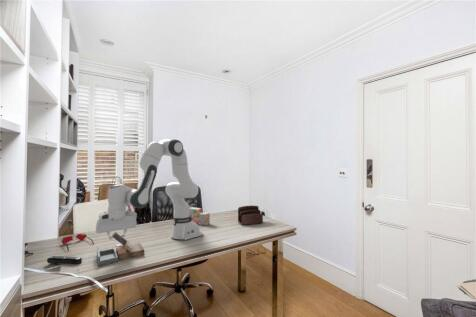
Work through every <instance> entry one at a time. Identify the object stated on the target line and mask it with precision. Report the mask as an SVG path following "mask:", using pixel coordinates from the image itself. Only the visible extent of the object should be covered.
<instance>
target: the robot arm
mask: <svg viewBox="0 0 476 317" xmlns="http://www.w3.org/2000/svg"><path fill="white" fill-rule="evenodd" d="M163 156H167V157H169V156H170V158H171V171H172V175H173V177H174V178H176V180H177V181H174V182H173V181H172V182H168V183H167V184H166V185H165V190H164V191H165V194H166V195H167V196H168V197H169V198H170V201H171V202H172V207H173V217H172V232H171V235H170V238H172V239H175V240H185V241H187V240H191V239H193V238H197V237H200V236H203V235H204V234H203V231H201V230H200V229H201V228H200V226H199V224H196V223H194V222H193V221H192V220H194V217H191V216H189V208H190V205H189V203H188V202H186V200H185V199H192V198H195V197H197V196H198V194H199V187H198V185H197V183H195V182H194V181H193V180H192V178H191V176H190V172H189V165H188V157H187V153H186V150H185V149H184V144H183V142H182V141H181V140H178V139H171V138H169V139H161V140H158V141H152V142H150V143H149V144H148V146H147V147H146V148H145V150H144V152H143V154H142V156H141V157H140V160H139V166H140V169H141V170H142V171H143V173H144V175H143V178H142V180H141V184H140V185H139V188H132V187H129V186H127V185H125V184H123V183H119V184H114V185H111V186H110V187H109V188H108V194H107V202H108V206H107V210H105V211H103V212H101V213H99V214H98V219H97V221H96V223H95V224H96V225H95V232H96V233H97V234H103V233H106V234H107V236H108V238H109V240H113V237H112V235H113V234H112V235H111V232H116V231H122V230H123V232H122V233H120V236H121V237H123V238H125V237H126V236H125V235H126V233H127V231H128V229H134V228H136V227H137V226H138V225H137V224H138V222H137V218H138V216H137V215H138V213H137V212H135V211H127V210H126V209H127V207H126V206H132V207H134V208H135V209H143V208H145V207H147V205H148V204H149V202H150V200H151V199H150V198H151V190H152V188H153V185H154V182H155V180H156V177H157V173H158V167H159V164H160V162H161V159H162V158H163Z"/></svg>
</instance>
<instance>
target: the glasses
mask: <svg viewBox="0 0 476 317" xmlns="http://www.w3.org/2000/svg"><path fill="white" fill-rule="evenodd" d="M74 236H75V239H76V240H79V241H83V240H85V239H86V238H87V239H88V240H91V241H90V242H91V244H92V245H94V246H95V243H94V240H93V239H91V238H90V237H89V236H87V234H86V233H84V232H83V233H78V234H76V235H75V234H74V235H69V236H64V237H63V238H62V239H61V243H62V244H63V245H65V246H66V248H67V252H69V251H70V250H69V245H67V244H68V243H69V242H71V241H73V240H74Z"/></svg>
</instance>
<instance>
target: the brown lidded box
mask: <svg viewBox="0 0 476 317" xmlns="http://www.w3.org/2000/svg"><path fill="white" fill-rule="evenodd" d="M263 216H264V215H263V214H262V213H261V210H260V208H259V206H258V205H243V206H239V207H238V208H237V222H238V223H239V225H241V226H244V225H255V224H263V223H264V217H263Z"/></svg>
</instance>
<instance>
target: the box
mask: <svg viewBox="0 0 476 317" xmlns="http://www.w3.org/2000/svg"><path fill="white" fill-rule="evenodd" d="M96 260H97V266H98V267H100V266H105V265H111V264H114V263H118V262H119V260H118V255H117V253H116V247H114V248H113V247H112V248H107V249H103V250H100V249H99V246H97V247H96Z"/></svg>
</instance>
